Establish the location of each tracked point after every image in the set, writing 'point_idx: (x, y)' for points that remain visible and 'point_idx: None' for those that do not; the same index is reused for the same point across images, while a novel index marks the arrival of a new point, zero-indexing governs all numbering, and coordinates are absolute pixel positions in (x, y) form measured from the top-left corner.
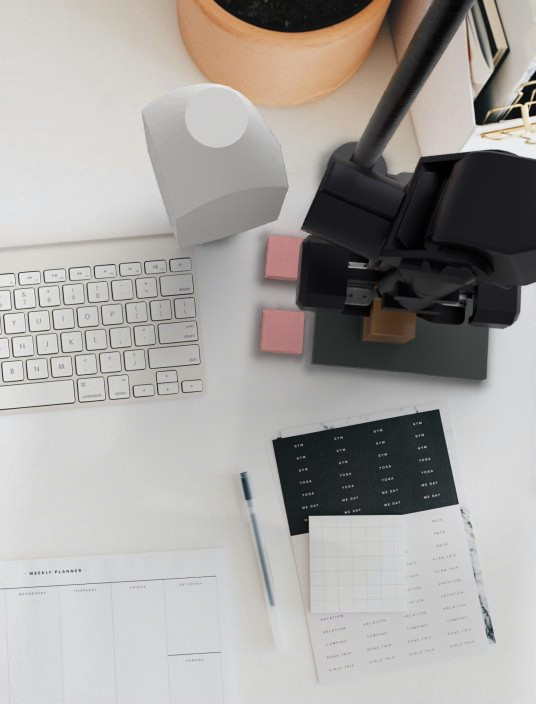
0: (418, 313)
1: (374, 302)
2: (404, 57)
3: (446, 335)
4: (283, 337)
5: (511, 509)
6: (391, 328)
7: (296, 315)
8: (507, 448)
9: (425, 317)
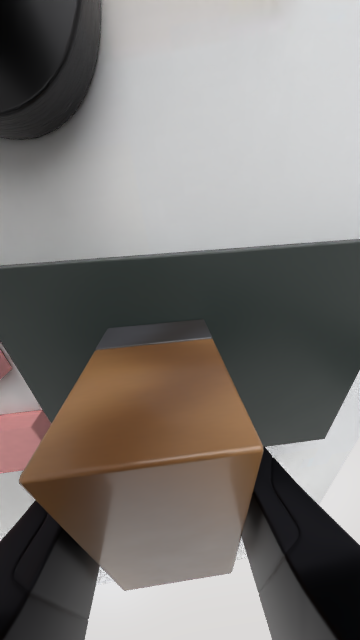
0: (242, 533)
1: (105, 569)
2: None
3: (278, 408)
4: (16, 459)
5: (312, 492)
6: (171, 579)
7: (17, 434)
8: (322, 464)
9: (271, 630)
